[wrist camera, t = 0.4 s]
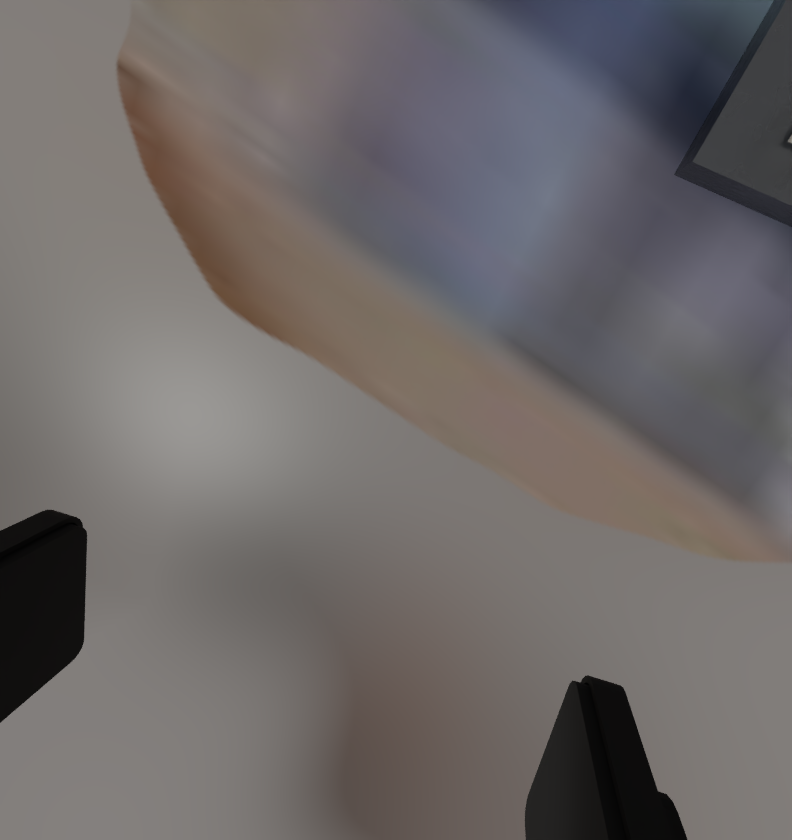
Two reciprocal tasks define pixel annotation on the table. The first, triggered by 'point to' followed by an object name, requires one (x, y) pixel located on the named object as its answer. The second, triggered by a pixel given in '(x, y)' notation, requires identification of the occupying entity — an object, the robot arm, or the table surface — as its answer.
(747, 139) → the grey slotted slider board
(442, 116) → the table surface
